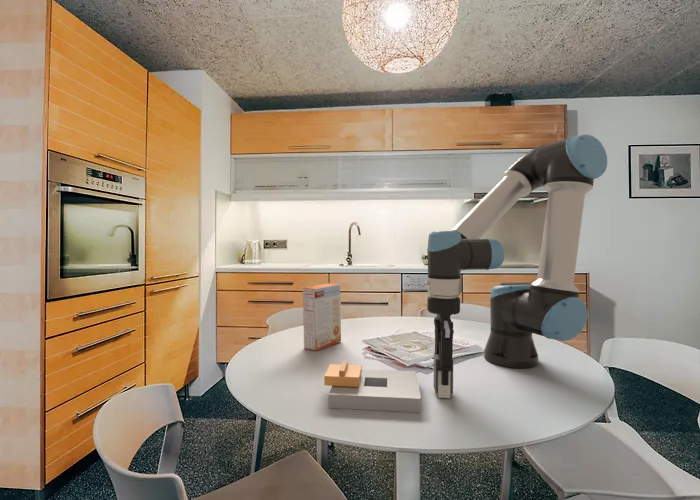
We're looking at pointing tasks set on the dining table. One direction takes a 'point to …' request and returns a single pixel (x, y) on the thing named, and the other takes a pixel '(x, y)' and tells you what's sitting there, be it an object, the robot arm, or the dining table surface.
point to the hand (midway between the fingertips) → (442, 392)
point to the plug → (436, 365)
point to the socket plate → (379, 392)
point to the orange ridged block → (343, 375)
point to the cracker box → (321, 316)
